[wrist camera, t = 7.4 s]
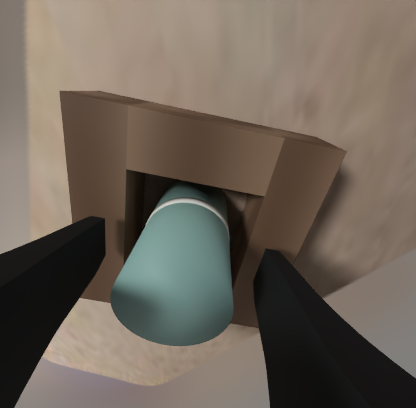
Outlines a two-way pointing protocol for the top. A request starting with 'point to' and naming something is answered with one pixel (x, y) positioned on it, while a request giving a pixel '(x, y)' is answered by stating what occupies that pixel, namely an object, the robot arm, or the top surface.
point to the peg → (179, 270)
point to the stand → (191, 179)
